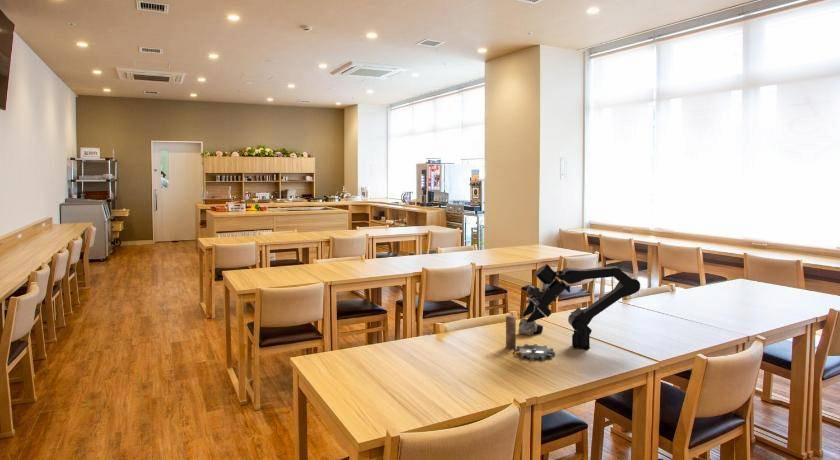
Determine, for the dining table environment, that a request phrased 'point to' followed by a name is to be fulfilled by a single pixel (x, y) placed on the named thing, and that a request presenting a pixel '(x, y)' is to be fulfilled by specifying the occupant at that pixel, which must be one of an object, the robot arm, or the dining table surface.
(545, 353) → the sprocket plate
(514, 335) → the brown cylinder
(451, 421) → the dining table surface
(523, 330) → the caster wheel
